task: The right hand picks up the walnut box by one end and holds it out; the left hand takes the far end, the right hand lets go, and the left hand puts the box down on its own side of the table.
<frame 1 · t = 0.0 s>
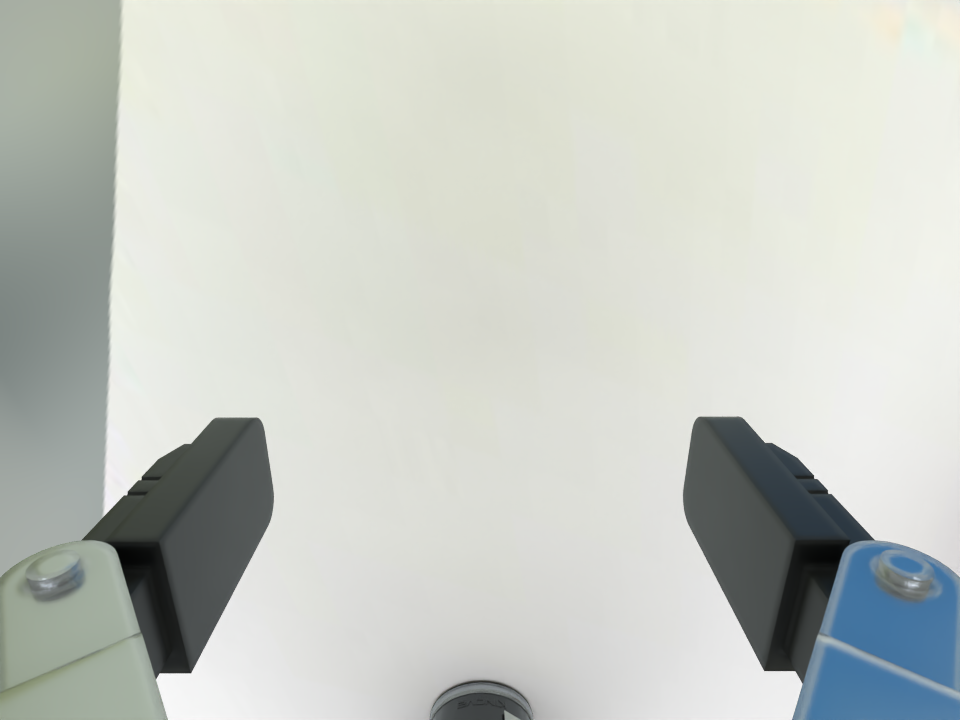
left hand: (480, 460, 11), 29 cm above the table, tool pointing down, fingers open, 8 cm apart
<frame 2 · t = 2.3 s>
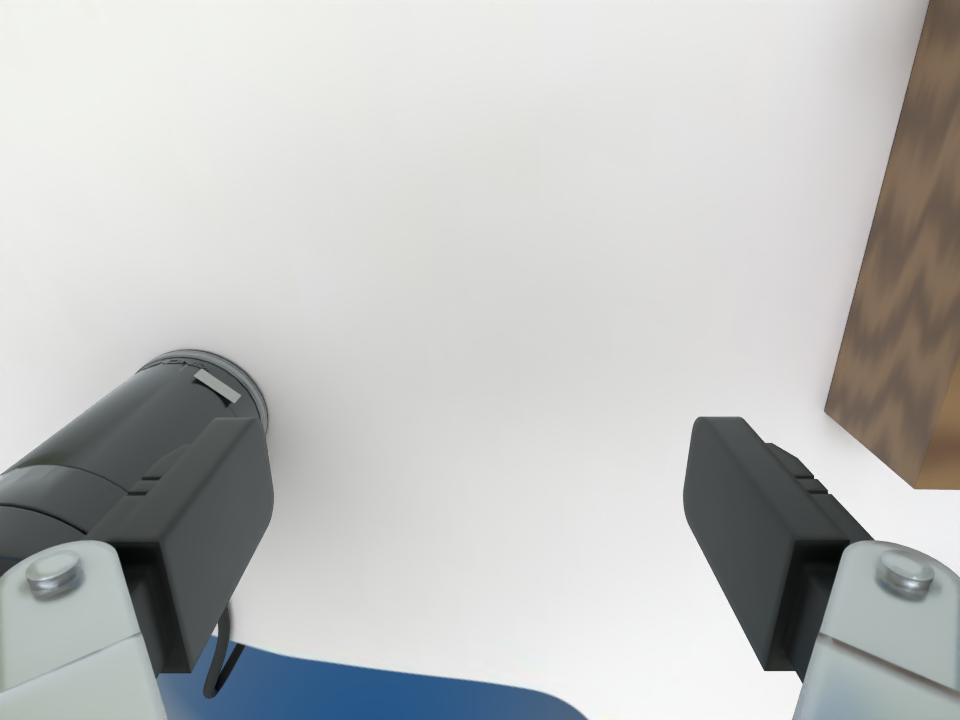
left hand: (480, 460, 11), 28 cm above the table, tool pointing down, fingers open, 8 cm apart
box: (923, 208, 37), on the table, touching right hand
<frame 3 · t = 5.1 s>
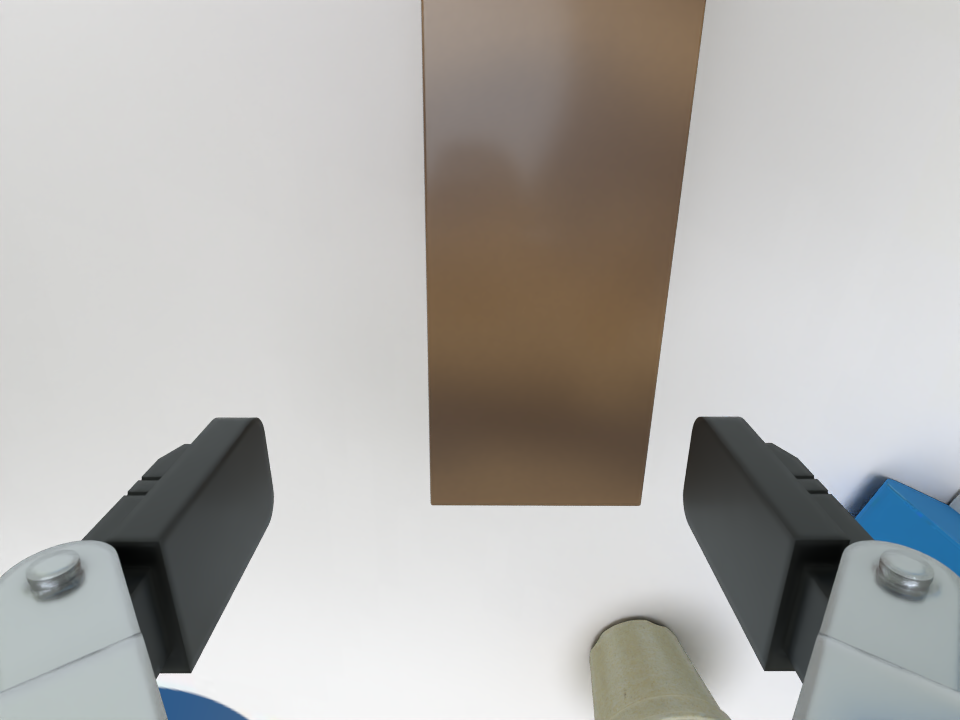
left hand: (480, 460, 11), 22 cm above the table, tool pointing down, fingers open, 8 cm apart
flower pot: (633, 649, 42), on the table
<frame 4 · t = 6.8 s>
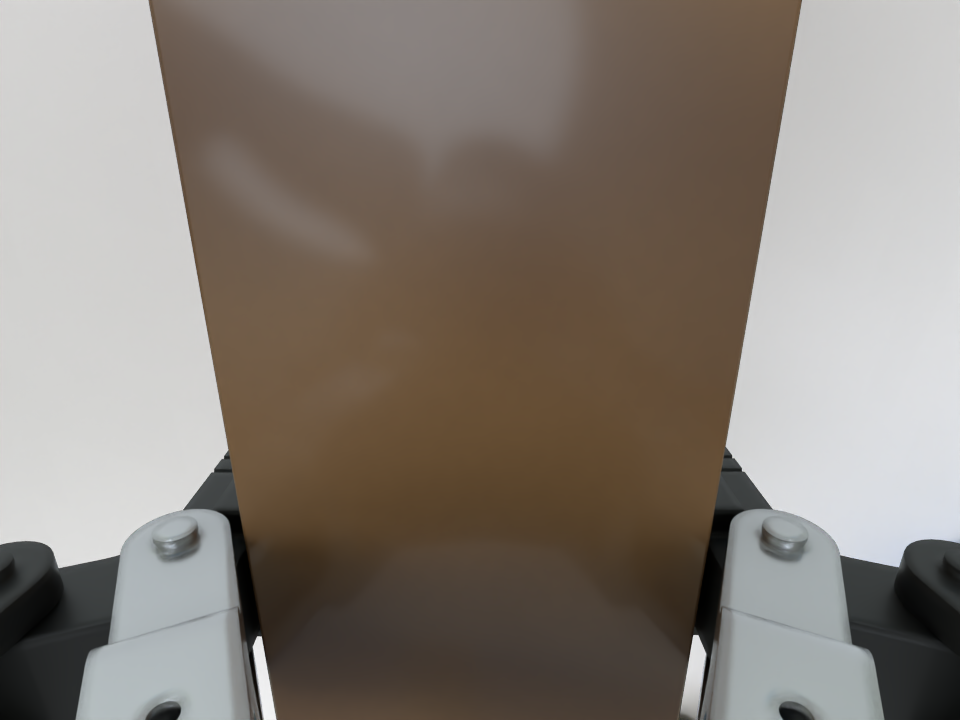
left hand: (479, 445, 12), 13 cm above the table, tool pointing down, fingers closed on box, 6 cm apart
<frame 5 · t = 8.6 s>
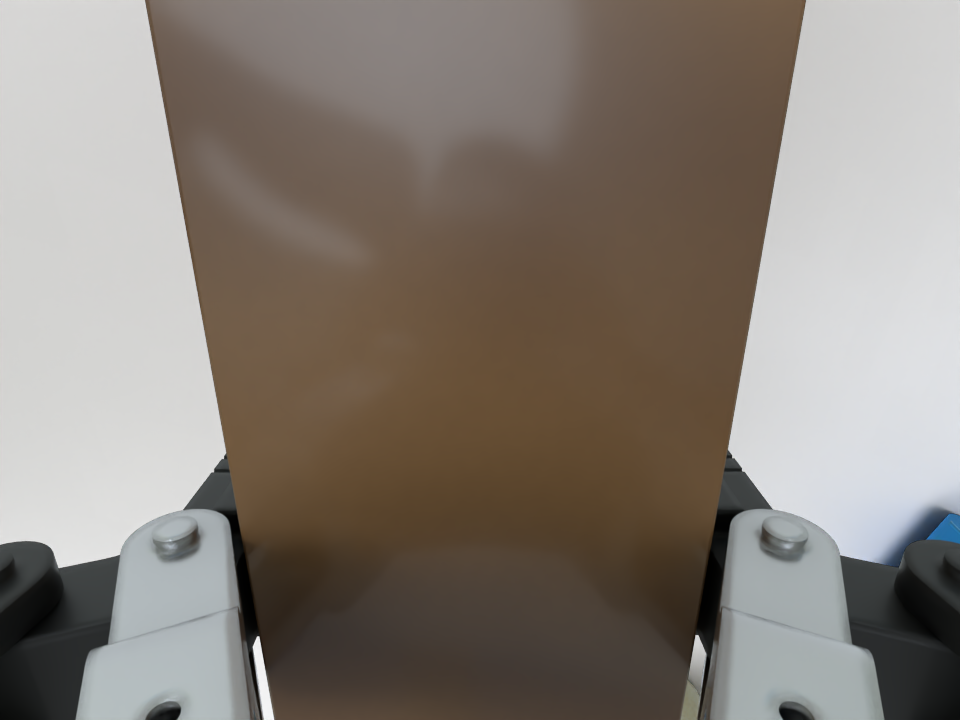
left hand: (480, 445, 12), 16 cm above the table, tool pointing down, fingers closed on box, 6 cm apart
flower pot: (647, 700, 36), on the table
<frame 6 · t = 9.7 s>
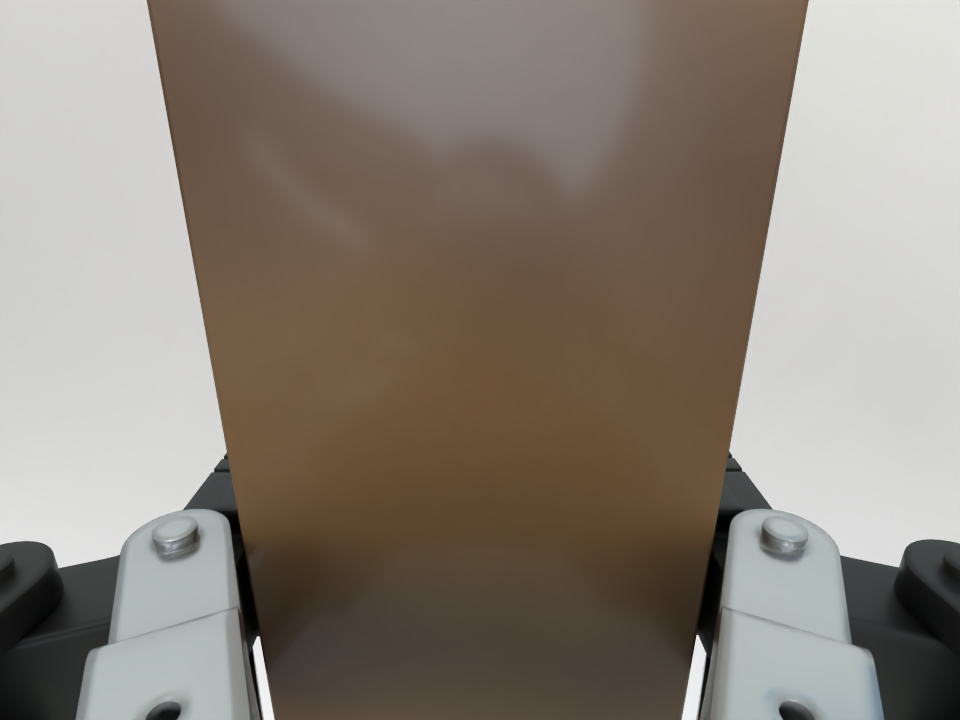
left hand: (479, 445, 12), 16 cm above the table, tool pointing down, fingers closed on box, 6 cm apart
when the left hand's fingers open (7 cm above the table, at t = 12.7 s): box drops 1 cm, on the table.
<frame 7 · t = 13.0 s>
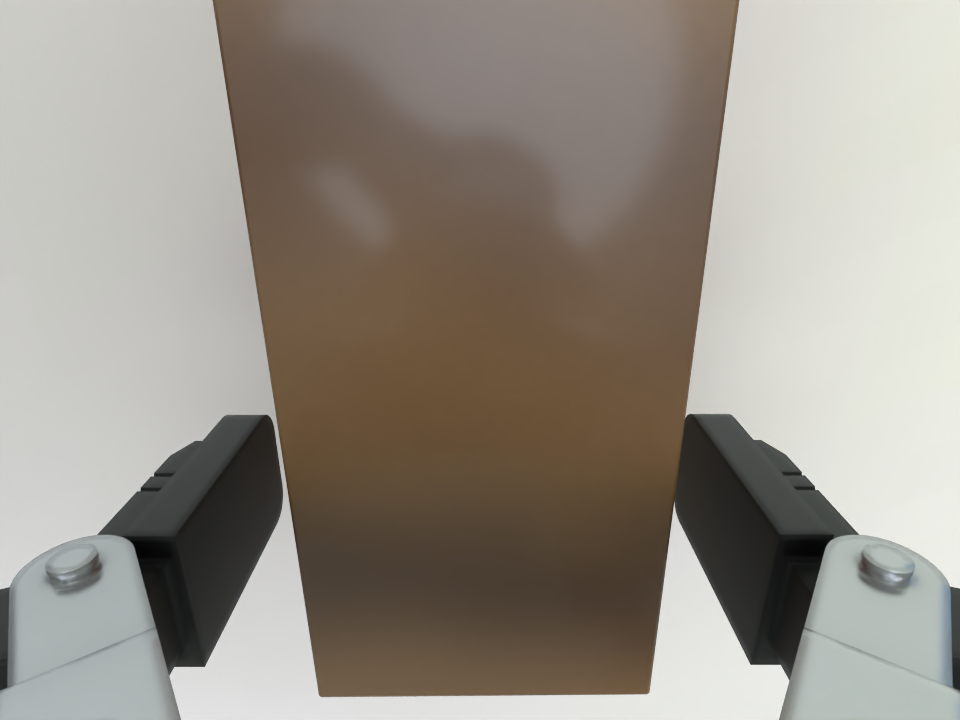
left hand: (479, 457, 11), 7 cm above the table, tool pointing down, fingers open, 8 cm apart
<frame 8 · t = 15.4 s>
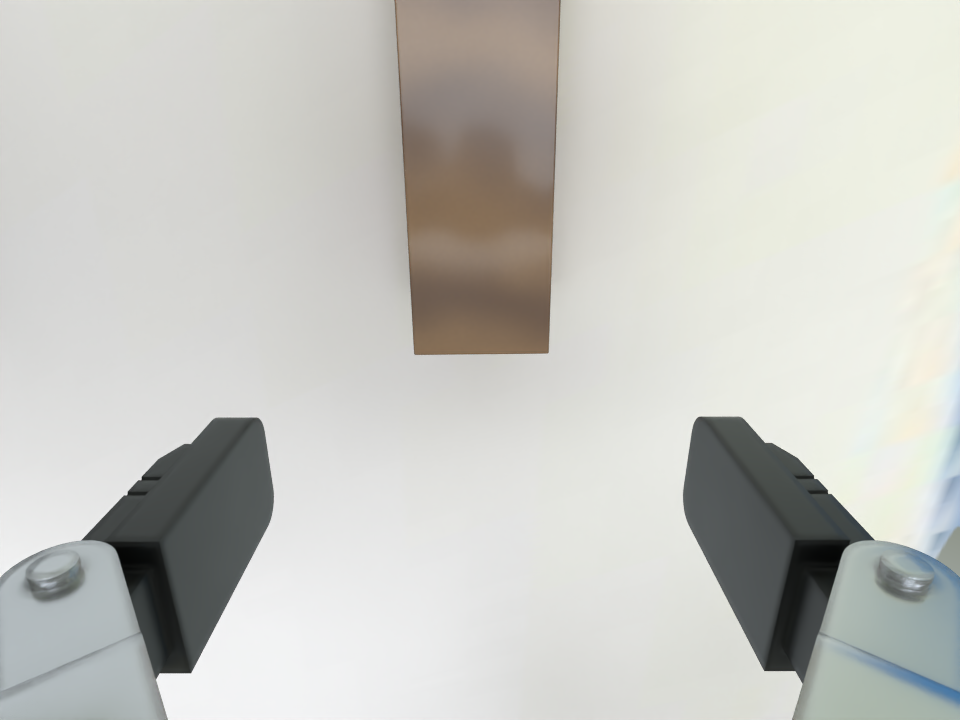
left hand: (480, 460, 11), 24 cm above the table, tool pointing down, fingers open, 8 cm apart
box: (478, 21, 30), on the table
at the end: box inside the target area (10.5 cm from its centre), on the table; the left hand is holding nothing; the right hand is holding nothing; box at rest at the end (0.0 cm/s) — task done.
